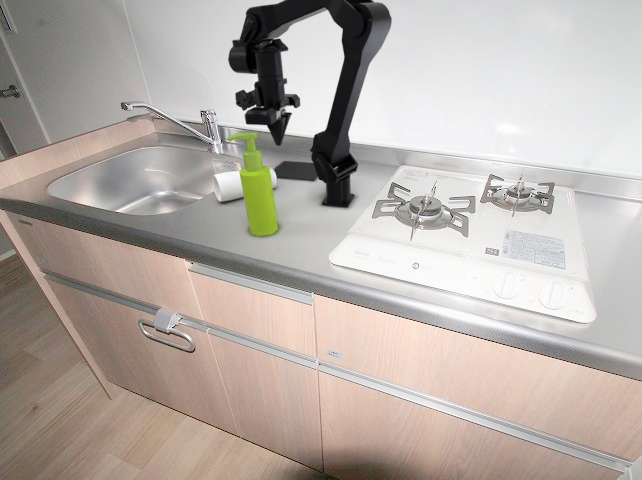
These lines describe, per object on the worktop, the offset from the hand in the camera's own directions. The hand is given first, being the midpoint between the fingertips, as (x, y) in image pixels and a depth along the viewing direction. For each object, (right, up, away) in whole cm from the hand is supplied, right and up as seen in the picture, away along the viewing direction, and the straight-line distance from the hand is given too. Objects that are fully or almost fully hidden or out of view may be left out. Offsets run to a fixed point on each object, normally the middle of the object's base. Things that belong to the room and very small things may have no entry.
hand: (278, 145), depth 90 cm
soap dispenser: (-2, -22, -12) cm, 26 cm away
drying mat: (+4, -3, +14) cm, 15 cm away
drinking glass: (-2, -7, +4) cm, 8 cm away
